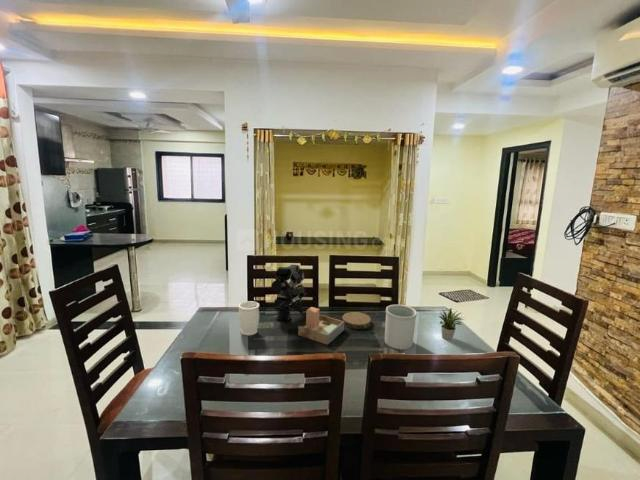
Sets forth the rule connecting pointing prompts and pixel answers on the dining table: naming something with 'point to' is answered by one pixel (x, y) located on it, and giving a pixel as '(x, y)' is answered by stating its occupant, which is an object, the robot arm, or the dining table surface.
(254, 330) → the jar
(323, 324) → the board
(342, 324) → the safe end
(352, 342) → the dining table surface
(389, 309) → the utensil holder
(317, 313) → the terracotta block
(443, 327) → the house plant
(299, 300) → the robot arm
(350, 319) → the wood slice
